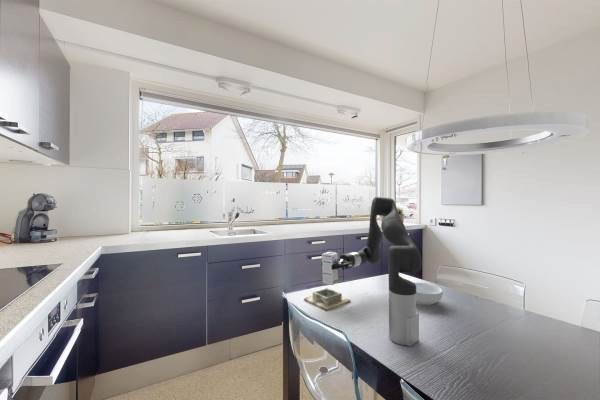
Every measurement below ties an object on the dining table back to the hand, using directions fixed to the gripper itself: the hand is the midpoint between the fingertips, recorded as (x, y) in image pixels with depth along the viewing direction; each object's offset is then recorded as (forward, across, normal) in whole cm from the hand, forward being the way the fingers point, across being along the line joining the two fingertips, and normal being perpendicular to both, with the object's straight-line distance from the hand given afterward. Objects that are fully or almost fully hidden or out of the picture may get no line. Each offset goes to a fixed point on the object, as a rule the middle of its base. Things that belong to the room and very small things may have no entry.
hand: (326, 265), depth 128 cm
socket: (-1, -2, +18) cm, 18 cm away
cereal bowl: (-37, +28, +19) cm, 50 cm away
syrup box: (-2, 0, +9) cm, 9 cm away
